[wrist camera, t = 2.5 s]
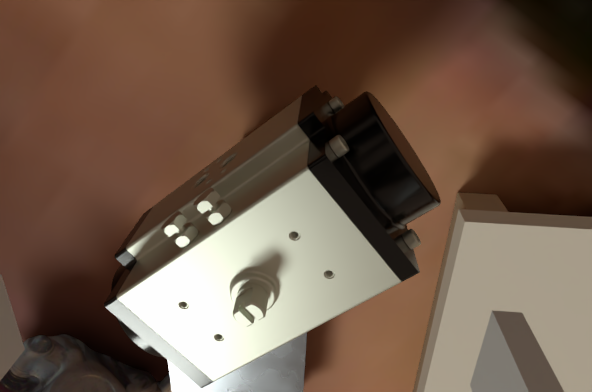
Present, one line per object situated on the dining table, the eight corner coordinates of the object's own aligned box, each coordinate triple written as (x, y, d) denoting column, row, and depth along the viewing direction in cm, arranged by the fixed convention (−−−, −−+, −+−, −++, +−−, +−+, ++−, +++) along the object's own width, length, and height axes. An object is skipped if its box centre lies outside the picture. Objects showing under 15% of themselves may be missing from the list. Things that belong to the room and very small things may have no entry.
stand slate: (175, 266, 28) (159, 300, 25) (310, 275, 27) (308, 310, 25) (188, 382, 32) (175, 421, 30) (303, 391, 32) (300, 431, 29)
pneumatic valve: (407, 122, 23) (476, 274, 12) (229, 239, 27) (164, 432, 16) (341, 27, 21) (355, 109, 10) (160, 168, 25) (34, 333, 14)
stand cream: (450, 191, 24) (464, 221, 22) (646, 203, 24) (686, 235, 21) (405, 399, 32) (412, 440, 29) (554, 410, 31) (575, 453, 29)
